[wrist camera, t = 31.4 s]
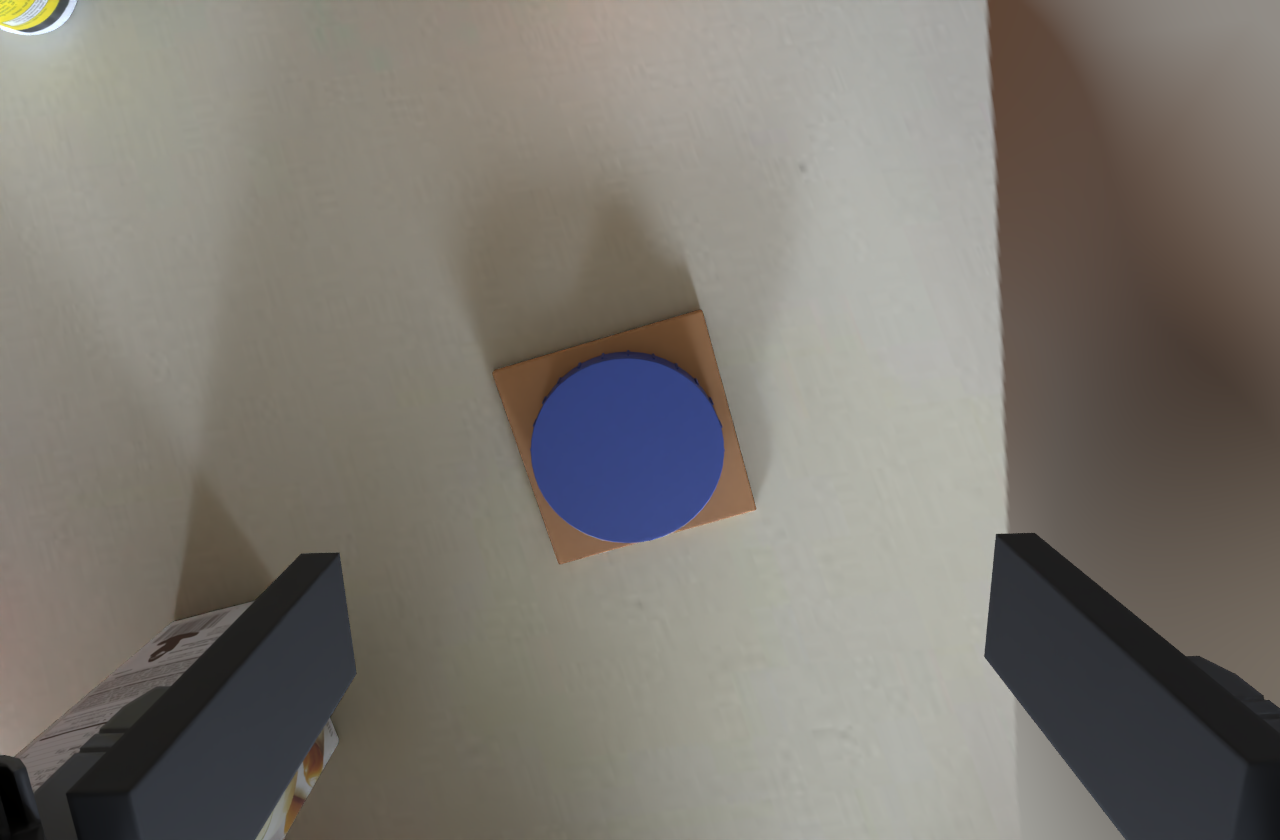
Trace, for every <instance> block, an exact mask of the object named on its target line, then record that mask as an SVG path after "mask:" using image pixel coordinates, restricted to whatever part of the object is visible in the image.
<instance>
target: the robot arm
mask: <svg viewBox="0 0 1280 840" xmlns="http://www.w3.org/2000/svg"><path fill="white" fill-rule="evenodd" d="M984 657H985V658H986V659H987V661H988V662H989V663H990V665H991V666H992V667H993V669H994V670H995V671H996V672H997V674H998V675H999V676H1000V678H1001V679H1002V680H1003V681H1004V683H1005V684H1006V685H1007V687H1008V688H1009V689H1010V691H1011V692H1012V693H1013V694H1014V696H1015V697H1016V698H1017V700H1018V701H1019V702H1020V703H1021V705H1022V706H1023V707H1024V709H1025V710H1026V711H1027V713H1028V714H1029V715H1030V716H1031V718H1032V719H1033V720H1034V722H1035V723H1036V724H1037V725H1038V727H1039V728H1040V729H1041V731H1042V732H1043V733H1044V734H1045V736H1046V737H1047V738H1048V740H1049V741H1050V742H1051V744H1052V745H1053V746H1054V747H1055V749H1056V750H1057V751H1058V753H1059V754H1060V755H1061V757H1062V758H1063V759H1064V760H1065V762H1066V763H1067V764H1068V766H1069V767H1070V768H1071V769H1072V771H1073V772H1074V773H1075V774H1076V776H1077V777H1078V778H1079V780H1080V781H1081V782H1082V784H1083V785H1084V786H1085V788H1086V789H1087V790H1088V791H1089V793H1090V794H1091V795H1092V797H1093V798H1094V799H1095V800H1096V802H1097V803H1098V804H1099V806H1100V807H1101V808H1102V810H1103V811H1104V812H1105V813H1106V815H1107V816H1108V817H1109V819H1110V820H1111V821H1112V823H1113V824H1114V825H1115V826H1116V828H1117V829H1118V830H1119V831H1120V833H1121V834H1122V835H1123V837H1124V838H1125V839H1126V840H1280V708H1279V707H1277V706H1276V705H1275V704H1273V703H1272V702H1271V701H1270V700H1264V697H1263V695H1262V694H1261V693H1259V692H1258V691H1257V690H1255V689H1254V688H1253V687H1252V686H1250V685H1249V684H1248V683H1247V682H1245V681H1244V680H1243V679H1241V678H1240V677H1239V676H1238V675H1236V674H1234V673H1232V672H1230V671H1228V670H1226V669H1224V668H1222V667H1220V666H1218V665H1216V664H1214V663H1212V662H1210V661H1208V660H1206V659H1204V658H1202V657H1200V656H1185V655H1183V654H1182V653H1181V652H1180V651H1179V650H1177V649H1176V648H1175V647H1174V646H1172V645H1171V644H1170V643H1169V642H1168V641H1166V640H1165V639H1164V638H1163V637H1161V636H1160V635H1159V634H1158V633H1156V632H1155V631H1154V630H1153V629H1152V628H1150V627H1149V626H1148V625H1147V624H1146V623H1144V622H1143V621H1142V620H1141V619H1139V618H1138V617H1137V616H1136V615H1134V614H1133V613H1132V612H1131V611H1130V610H1128V609H1127V608H1126V607H1124V606H1123V605H1122V604H1121V603H1120V602H1119V601H1117V600H1116V599H1115V598H1114V597H1112V596H1111V595H1110V594H1109V593H1108V592H1106V591H1105V590H1104V589H1103V588H1101V587H1100V586H1099V585H1098V584H1097V583H1095V582H1094V581H1093V580H1091V579H1090V578H1089V577H1088V576H1087V575H1085V574H1084V573H1083V572H1082V571H1081V570H1079V569H1078V568H1077V567H1076V566H1074V565H1073V564H1072V563H1071V562H1070V561H1068V560H1067V559H1066V558H1065V557H1063V556H1062V555H1061V554H1060V553H1059V552H1057V551H1056V550H1055V549H1053V548H1052V547H1051V546H1050V545H1049V544H1048V543H1046V542H1045V541H1044V540H1043V539H1041V538H1040V537H1039V536H1038V535H1037V534H1035V533H1018V534H996V540H995V551H994V561H993V572H992V582H991V592H990V603H989V613H988V623H987V634H986V644H985V655H984ZM356 674H357V673H356V666H355V659H354V652H353V645H352V638H351V631H350V624H349V617H348V610H347V603H346V596H345V589H344V582H343V575H342V568H341V561H340V554H339V553H306V554H300V555H299V556H298V557H297V558H296V560H295V561H294V562H293V563H292V564H291V565H290V566H289V567H288V568H287V569H286V570H285V571H284V572H283V573H282V574H281V575H280V576H279V577H278V578H277V579H276V580H275V581H274V582H273V583H272V584H271V585H270V586H269V587H268V588H267V589H266V590H265V591H264V592H263V593H262V594H261V595H260V596H259V597H258V598H257V599H256V600H255V601H254V602H253V603H252V604H251V605H250V606H249V607H248V608H247V609H246V610H245V611H244V612H243V613H242V614H241V615H240V616H239V617H238V618H237V620H236V621H235V622H234V623H233V624H232V625H231V626H230V627H229V628H228V629H227V630H226V631H225V632H224V633H223V634H222V635H221V636H220V637H219V638H218V639H217V640H216V641H215V642H214V643H213V644H212V645H211V646H210V647H209V648H208V649H207V650H206V651H205V652H204V653H203V654H202V655H201V656H200V657H199V658H198V659H197V660H196V661H195V662H194V663H193V664H192V665H191V666H190V667H189V668H188V669H187V670H186V671H185V672H184V673H183V674H182V675H181V676H180V677H179V678H178V680H177V681H176V682H175V683H174V684H173V685H172V686H156V687H155V688H153V689H151V690H150V691H148V692H146V693H145V694H143V695H141V696H140V697H138V698H136V699H135V700H133V701H131V702H130V703H128V704H126V705H125V706H123V707H122V708H121V709H120V710H119V711H118V712H117V713H116V714H115V715H114V716H113V717H112V718H111V719H110V720H109V721H108V722H107V723H105V724H104V725H103V726H102V727H101V728H100V731H99V734H94V735H93V736H92V737H91V738H90V739H89V740H88V741H87V742H86V743H85V744H84V745H83V746H82V747H81V748H80V751H79V753H74V754H73V755H72V756H71V757H70V758H69V759H68V760H67V761H66V762H65V763H64V764H63V765H62V766H61V767H60V768H59V769H58V770H57V771H56V772H55V773H54V774H52V775H51V776H50V777H49V778H48V779H47V780H46V781H45V782H44V783H43V784H42V785H41V786H40V787H39V788H38V789H37V790H36V791H35V792H34V793H33V790H32V787H31V783H30V779H29V776H28V772H27V769H26V766H25V765H24V764H23V762H22V761H21V760H20V758H15V757H11V756H6V755H0V840H255V839H256V838H257V836H258V835H259V833H260V831H261V830H262V828H263V826H264V825H265V823H266V821H267V820H268V818H269V816H270V815H271V813H272V812H273V810H274V808H275V807H276V805H277V803H278V802H279V800H280V798H281V797H282V795H283V793H284V792H285V790H286V789H287V787H288V785H289V784H290V782H291V780H292V779H293V777H294V775H295V774H296V772H297V771H298V769H299V767H300V766H301V764H302V762H303V761H304V759H305V757H306V756H307V754H308V752H309V751H310V749H311V748H312V746H313V744H314V743H315V741H316V739H317V738H318V736H319V734H320V733H321V731H322V730H323V728H324V726H325V725H326V723H327V721H328V720H329V718H330V716H331V715H332V713H333V711H334V710H335V708H336V707H337V705H338V703H339V702H340V700H341V698H342V697H343V695H344V693H345V692H346V690H347V689H348V687H349V685H350V684H351V682H352V680H353V679H354V677H355V675H356Z"/></svg>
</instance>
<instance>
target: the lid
mask: <svg viewBox="0 0 1280 840" xmlns="http://www.w3.org/2000/svg"><path fill="white" fill-rule="evenodd" d="M542 404H543V405H542V408H541V410H540V412H539V414H538V416H537V418H536V419H535V421H534V424H533V427H534V428H533V433H532V439H531V448H530V451H531V462H532V468H533V472H534V476H535V479H536V482H537V484H538V487H539V489H540V491H541V493H542V494H543V496H544V498H545V500H546V501H547V502H548V504H549V505H550V506H551V508H552V509H553V510H554V511H555V512H556V513H557V514H558V515H559V516H560V517H561V518H562V519H563V520H565V521H566V522H567V523H568V524H569V525H571V526H573V527H574V528H576V529H577V530H579V531H581V532H583V533H585V534H587V535H590V536H592V537H595V538H598V539H601V540H606V541H611V542H619V543H637V542H644V541H650V540H654V539H657V538H660V537H663V536H665V535H668V534H670V533H672V532H674V531H676V530H678V529H679V528H681V527H682V526H684V525H685V524H687V523H688V522H689V521H690V520H692V519H693V518H694V517H695V516H696V515H697V514H698V513H699V512H700V511H701V510H702V509H703V508H704V506H705V505H706V504H707V502H708V501H709V500H710V498H711V496H712V494H713V492H714V491H715V489H716V486H717V484H718V481H719V479H720V476H721V472H722V468H723V460H724V452H725V449H724V440H723V434H722V429H721V428H723V427H722V424H721V422H720V420H719V419H718V416H717V414H716V412H715V410H714V407H713V405H714V403H713V401H712V399H711V397H710V398H709V397H708V396H707V394H706V393H705V391H704V390H703V388H702V387H701V386H700V385H699V383H698V380H697V379H696V378H695V379H694V378H693V377H692V376H691V375H689V374H688V373H687V372H686V371H685V370H683V369H682V368H680V367H679V366H678V364H677V363H675V364H674V363H672V362H670V361H668V360H666V359H663V358H660V357H657V356H655V354H654V353H652V355H651V354H646V353H641V352H629V350H627V352H615V353H609V354H604V353H602V355H601V356H598V357H595V358H592V359H590V360H587V361H585V362H583V363H581V362H580V363H579V364H578V366H576V367H575V368H573V369H572V370H570V371H569V372H568V373H567V374H566V375H565V376H563V377H562V378H561V377H560V378H559V379H558V382H557V384H556V385H555V386H554V387H553V388H552V390H551V391H550V393H549V394H548V396H547V397H546V396H545V397H544V399H543V401H542Z"/></svg>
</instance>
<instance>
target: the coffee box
mask: <svg viewBox="0 0 1280 840" xmlns="http://www.w3.org/2000/svg"><path fill="white" fill-rule="evenodd" d="M253 602H254V601H252V602H248V603H244V604H240V605H237V606H233V607H229V608H225V609H221V610H217V611H213V612H209V613H205V614H201V615H197V616H194V617H190V618H186V619H182V620H178V621H175V622H172V623H170V624H169V625H168V626H167V627H165V628H164V629H163V630H162V631H161V632H160V633H159V634H157V635H156V636H155V637H154V638H153V639H152V640H151V641H149V642H148V643H147V644H146V645H145V646H143V647H142V648H141V649H140V650H139V651H138V652H137V653H135V654H134V655H133V656H132V657H130V658H129V659H128V660H127V661H126V662H125V663H123V664H122V665H121V666H120V667H119V668H118V669H116V670H115V671H114V672H113V673H111V674H110V675H109V676H108V677H107V678H106V679H105V680H104V681H102V682H101V683H100V684H99V685H98V686H96V687H95V688H94V689H93V690H92V691H90V692H89V693H88V694H87V695H86V696H85V697H83V698H82V699H81V700H80V701H79V702H78V703H77V704H75V705H74V706H73V707H72V708H71V709H69V710H68V711H67V712H66V713H65V714H64V715H63V716H62V717H60V718H59V719H58V720H56V721H55V722H54V723H53V724H52V725H51V726H50V727H48V728H47V729H46V730H45V731H44V732H42V733H41V734H40V735H39V736H38V737H37V738H35V739H34V740H33V741H32V742H31V743H30V744H28V745H27V746H26V747H25V748H24V749H23V750H22V751H20V752H19V753H18V754H17V755H16V756H15V758H20V760H21V761H22V762H23V764H24V765H25V766H26V769H27V772H28V776H29V779H30V783H31V787H32V790H33V793H34V792H35V791H36V790H37V789H38V788H39V787H40V786H41V785H42V784H43V783H44V782H45V781H46V780H47V779H48V778H49V777H50V776H51V775H52V774H54V773H55V772H56V771H57V770H58V769H59V768H60V767H61V766H62V765H63V764H64V763H65V762H66V761H67V760H68V759H69V758H70V757H71V756H72V755H73V754H74V753H79V751H80V748H81V747H82V746H83V745H84V744H85V743H86V742H87V741H88V740H89V739H90V738H91V737H92V736H93V735H94V734H99V731H100V728H101V727H102V726H103V725H104V724H105V723H107V722H108V721H109V720H110V719H111V718H112V717H113V716H114V715H115V714H116V713H117V712H118V711H119V710H120V709H121V708H122V707H123V706H125V705H126V704H128V703H130V702H131V701H133V700H135V699H136V698H138V697H140V696H141V695H143V694H145V693H146V692H148V691H150V690H151V689H153V688H155V687H156V686H172V685H173V684H174V683H175V682H176V681H177V680H178V678H179V677H180V676H181V675H182V674H183V673H184V672H185V671H186V670H187V669H188V668H189V667H190V666H191V665H192V664H193V663H194V662H195V661H196V660H197V659H198V658H199V657H200V656H201V655H202V654H203V653H204V652H205V651H206V650H207V649H208V648H209V647H210V646H211V645H212V644H213V643H214V642H215V641H216V640H217V639H218V638H219V637H220V636H221V635H222V634H223V633H224V632H225V631H226V630H227V629H228V628H229V627H230V626H231V625H232V624H233V623H234V622H235V621H236V620H237V618H238V617H239V616H240V615H241V614H242V613H243V612H244V611H245V610H246V609H247V608H248V607H249V606H250V605H251V604H252V603H253ZM338 742H339V739H338V737H337V734H336V731H335V729H334V726H333V724H332V721H331V719H330V718H329V720H328V721H327V723H326V725H325V726H324V728H323V730H322V731H321V733H320V734H319V736H318V738H317V739H316V741H315V743H314V744H313V746H312V748H311V749H310V751H309V752H308V754H307V756H306V757H305V759H304V761H303V762H302V764H301V766H300V767H299V769H298V771H297V772H296V774H295V775H294V777H293V779H292V780H291V782H290V784H289V785H288V787H287V789H286V790H285V792H284V793H283V795H282V797H281V798H280V800H279V802H278V803H277V805H276V807H275V808H274V810H273V812H272V813H271V815H270V816H269V818H268V820H267V821H266V823H265V825H264V826H263V828H262V830H261V831H260V833H259V835H258V836H257V838H256V839H255V840H283V839H284V837H285V836H286V834H287V832H288V830H289V829H290V827H291V825H292V823H293V822H294V820H295V818H296V816H297V815H298V813H299V811H300V809H301V807H302V806H303V804H304V802H305V800H306V799H307V797H308V795H309V793H310V792H311V790H312V788H313V786H314V785H315V783H316V781H317V779H318V778H319V776H320V774H321V773H322V771H323V769H324V767H325V765H326V764H327V762H328V760H329V758H330V757H331V755H332V753H333V751H334V749H335V748H336V746H337V745H338Z"/></svg>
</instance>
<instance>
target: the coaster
mask: <svg viewBox="0 0 1280 840" xmlns="http://www.w3.org/2000/svg"><path fill="white" fill-rule="evenodd" d="M627 350H629V352H641V353H646V354H651V355H652V353H654V354H655V356H657V357H660V358H663V359H666V360H668V361H670V362H672V363H674V364H675V363H677V364H678V366H679V367H680V368H682V369H683V370H685V371H686V372H687V373H688V374H689V375H691V376H692V377H693V378H694V379H695V378H696V379H697V380H698V383H699V385H700V386H701V387H702V388H703V390H704V391H705V393H706V394H707V396H708V397H709V398H710V397H711V399H712V401H713V403H714V405H713V407H714V410H715V412H716V414H717V416H718V419H719V420H720V422H721V424H722V427H723V428H721V429H722V434H723V440H724V449H725V452H724V460H723V468H722V472H721V476H720V479H719V481H718V484H717V486H716V489H715V491H714V492H713V494H712V496H711V498H710V500H709V501H708V502H707V504H706V505H705V506H704V508H703V509H702V510H701V511H700V512H699V513H698V514H697V515H696V516H695V517H694V518H693V519H692V520H690V521H689V522H688V523H687V524H685V525H684V526H682V527H681V528H679V529H678V530H676V531H674V532H672V533H675V532H678V531H682V530H686V529H689V528H693V527H696V526H700V525H704V524H707V523H711V522H714V521H718V520H722V519H725V518H729V517H733V516H736V515H740V514H743V513H747V512H751V511H754V510H756V506H755V502H754V498H753V495H752V491H751V487H750V484H749V480H748V476H747V473H746V469H745V465H744V462H743V458H742V454H741V451H740V447H739V443H738V440H737V436H736V432H735V429H734V425H733V421H732V418H731V414H730V410H729V407H728V403H727V399H726V396H725V392H724V388H723V385H722V381H721V377H720V374H719V370H718V366H717V363H716V359H715V355H714V352H713V348H712V344H711V341H710V337H709V333H708V330H707V326H706V322H705V319H704V315H703V312H702V310H697V311H693V312H690V313H686V314H683V315H680V316H676V317H673V318H669V319H666V320H663V321H659V322H656V323H652V324H649V325H646V326H642V327H639V328H635V329H632V330H629V331H625V332H622V333H618V334H615V335H612V336H608V337H605V338H602V339H598V340H595V341H591V342H588V343H585V344H581V345H578V346H574V347H571V348H568V349H564V350H561V351H557V352H554V353H551V354H547V355H544V356H540V357H537V358H534V359H530V360H527V361H523V362H520V363H517V364H513V365H510V366H506V367H503V368H500V369H496V370H494V371H493V373H492V374H493V377H494V380H495V383H496V385H497V388H498V391H499V394H500V397H501V400H502V403H503V406H504V408H505V411H506V414H507V417H508V420H509V423H510V426H511V428H512V431H513V434H514V437H515V440H516V443H517V446H518V449H519V451H520V454H521V457H522V460H523V463H524V466H525V469H526V472H527V474H528V477H529V480H530V483H531V486H532V489H533V492H534V495H535V497H536V500H537V503H538V506H539V509H540V512H541V515H542V518H543V520H544V523H545V526H546V529H547V532H548V535H549V538H550V541H551V543H552V546H553V549H554V552H555V555H556V558H557V561H558V563H559V564H563V563H567V562H570V561H574V560H577V559H581V558H585V557H588V556H592V555H596V554H599V553H603V552H606V551H610V550H614V549H617V548H621V547H624V546H628V545H632V544H635V543H619V542H611V541H606V540H601V539H598V538H595V537H592V536H590V535H587V534H585V533H583V532H581V531H579V530H577V529H576V528H574V527H573V526H571V525H569V524H568V523H567V522H566V521H565V520H563V519H562V518H561V517H560V516H559V515H558V514H557V513H556V512H555V511H554V510H553V509H552V508H551V506H550V505H549V504H548V502H547V501H546V500H545V498H544V496H543V494H542V493H541V491H540V489H539V487H538V484H537V482H536V479H535V476H534V472H533V468H532V462H531V451H530V448H531V439H532V433H533V428H534V427H533V424H534V421H535V419H536V418H537V416H538V414H539V412H540V410H541V408H542V405H543V404H542V401H543V399H544V397H545V396H546V397H547V396H548V394H549V393H550V391H551V390H552V388H553V387H554V386H555V385H556V384H557V382H558V379H559V378H560V377H561V378H562V377H563V376H565V375H566V374H567V373H568V372H569V371H570V370H572V369H573V368H575V367H576V366H578V364H579V363H580V362H581V363H583V362H585V361H587V360H590V359H592V358H595V357H598V356H601V355H602V353H604V354H609V353H615V352H627ZM670 534H671V533H670ZM637 543H639V542H637Z"/></svg>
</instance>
